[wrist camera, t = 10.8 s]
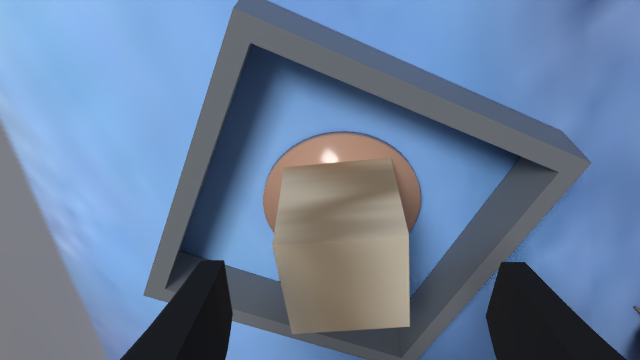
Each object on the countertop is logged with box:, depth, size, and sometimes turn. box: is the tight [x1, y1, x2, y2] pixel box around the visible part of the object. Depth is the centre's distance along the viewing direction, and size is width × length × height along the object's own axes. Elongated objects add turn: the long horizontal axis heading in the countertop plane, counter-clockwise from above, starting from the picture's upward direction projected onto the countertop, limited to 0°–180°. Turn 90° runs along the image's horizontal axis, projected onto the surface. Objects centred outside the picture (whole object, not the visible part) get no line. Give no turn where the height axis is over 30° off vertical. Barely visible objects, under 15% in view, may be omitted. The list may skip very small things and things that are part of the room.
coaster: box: [263, 131, 421, 233], centre depth 21 cm, size 7×7×1 cm
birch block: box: [272, 158, 410, 334], centre depth 18 cm, size 4×4×5 cm
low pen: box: [144, 0, 591, 360], centre depth 20 cm, size 14×14×2 cm
